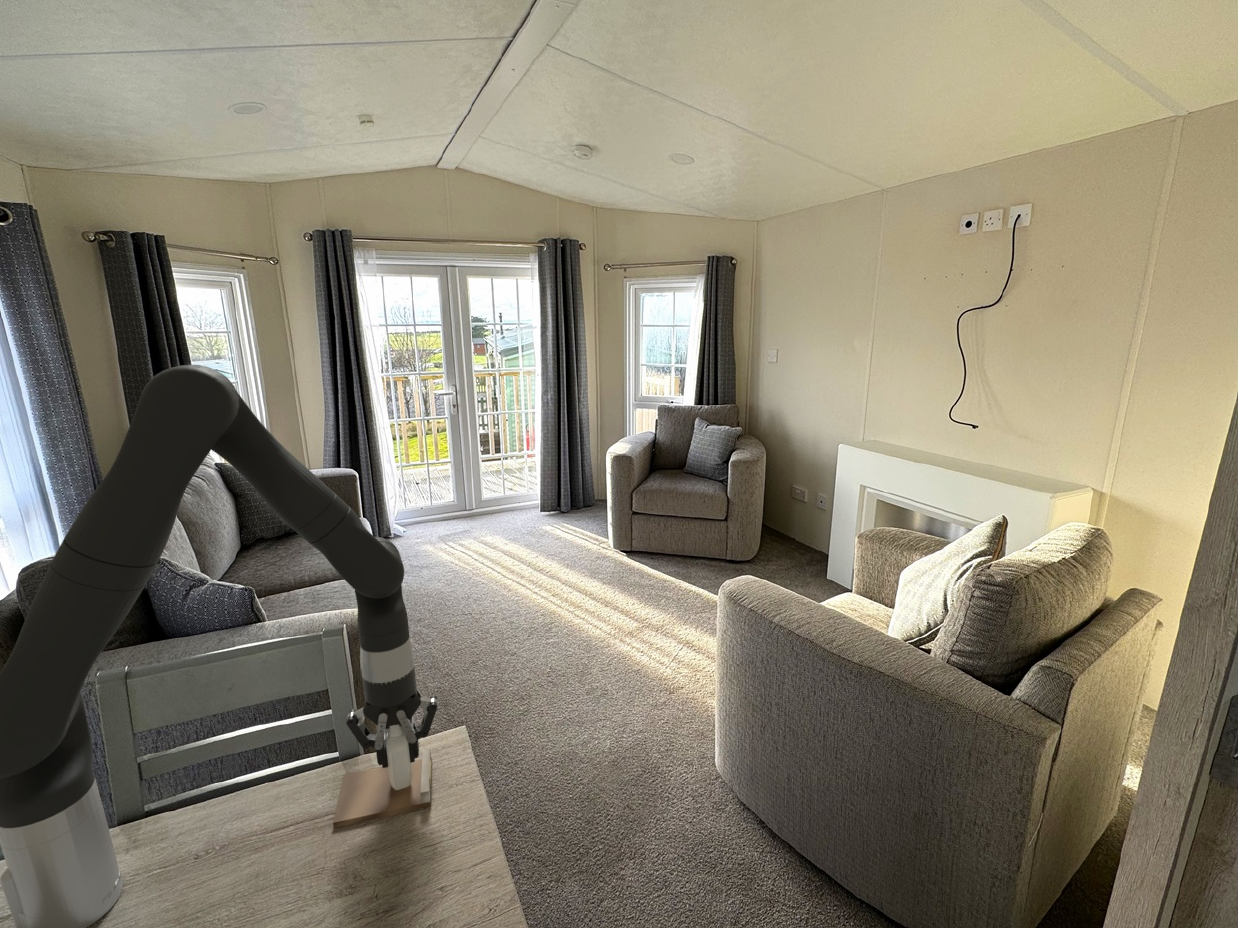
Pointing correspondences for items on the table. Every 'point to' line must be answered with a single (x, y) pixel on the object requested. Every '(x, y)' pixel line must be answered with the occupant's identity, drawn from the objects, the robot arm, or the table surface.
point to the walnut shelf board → (382, 793)
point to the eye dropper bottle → (398, 757)
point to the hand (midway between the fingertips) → (399, 761)
